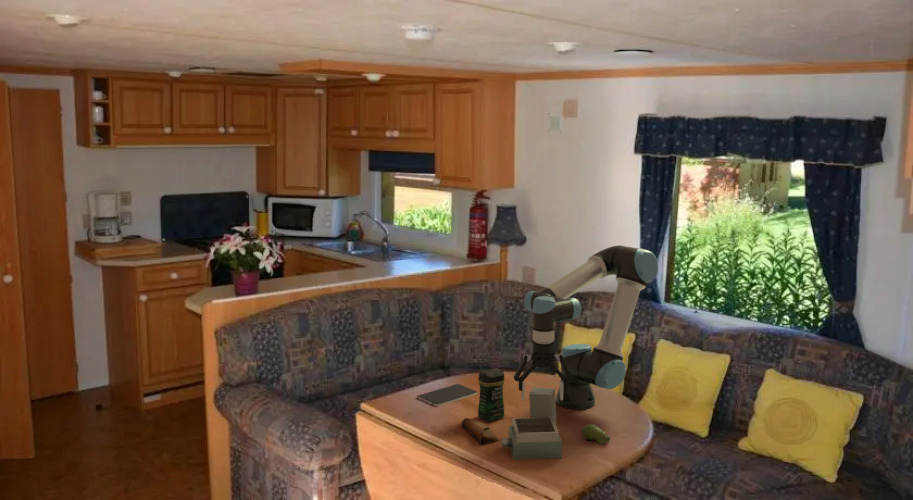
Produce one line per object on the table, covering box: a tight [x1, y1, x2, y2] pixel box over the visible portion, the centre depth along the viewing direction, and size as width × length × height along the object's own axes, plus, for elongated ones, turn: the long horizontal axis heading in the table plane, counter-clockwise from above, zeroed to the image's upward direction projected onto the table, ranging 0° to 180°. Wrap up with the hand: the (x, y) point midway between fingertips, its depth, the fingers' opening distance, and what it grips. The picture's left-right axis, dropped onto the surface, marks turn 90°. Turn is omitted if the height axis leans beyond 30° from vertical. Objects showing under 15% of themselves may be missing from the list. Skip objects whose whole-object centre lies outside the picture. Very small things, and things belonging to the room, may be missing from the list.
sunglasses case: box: [461, 417, 502, 446], centre depth 287 cm, size 18×7×7 cm
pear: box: [582, 423, 611, 445], centre depth 280 cm, size 6×5×10 cm
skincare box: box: [528, 386, 557, 426], centre depth 287 cm, size 8×7×16 cm
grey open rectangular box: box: [501, 416, 563, 461], centre depth 272 cm, size 19×14×9 cm
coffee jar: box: [477, 367, 506, 422], centre depth 301 cm, size 10×8×19 cm
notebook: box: [416, 383, 478, 407], centre depth 325 cm, size 13×2×21 cm
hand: (542, 399), depth 286 cm, fingers open, 13 cm apart
